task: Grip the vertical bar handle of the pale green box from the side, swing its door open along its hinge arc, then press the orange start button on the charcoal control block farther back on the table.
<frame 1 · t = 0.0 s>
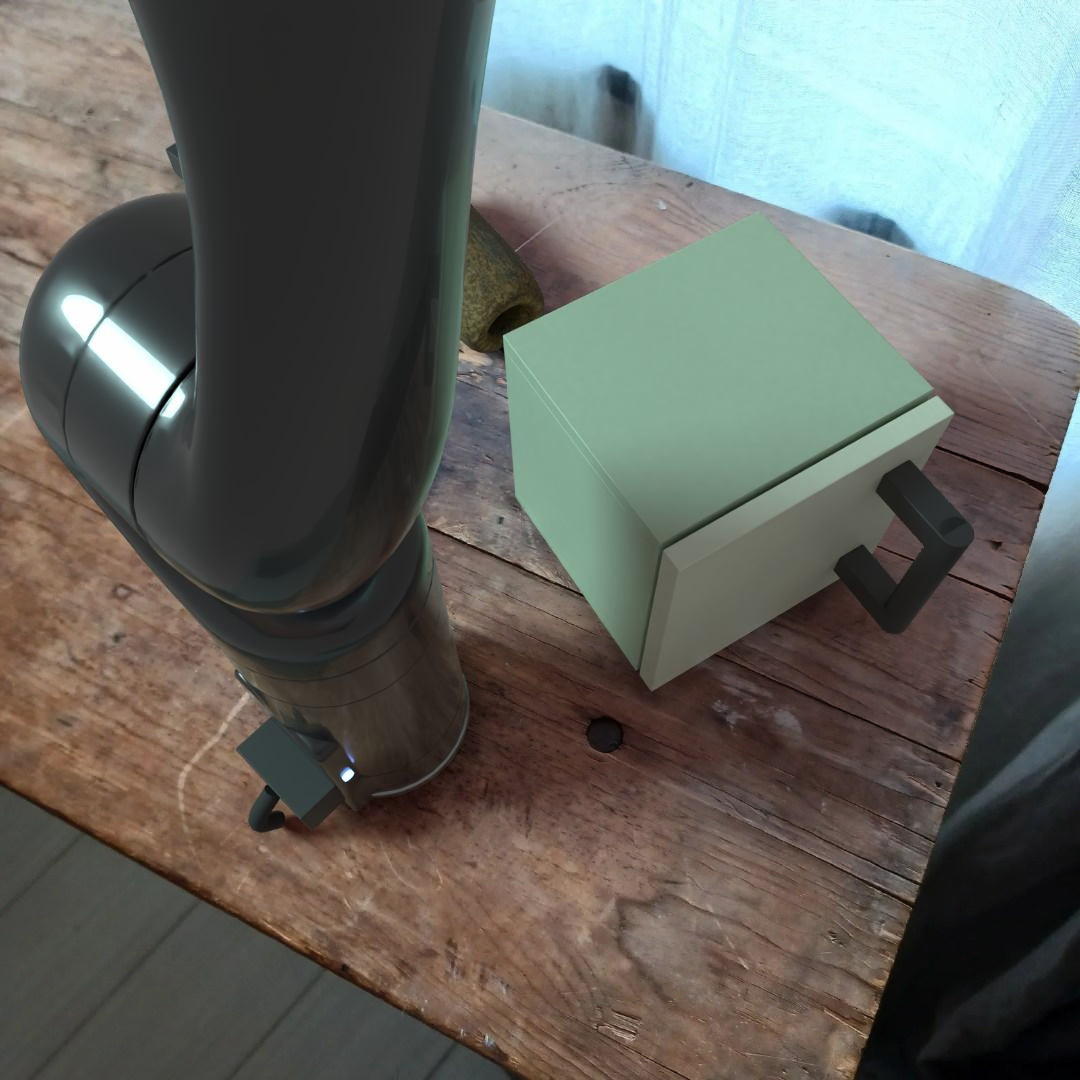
pale green box: (680, 520, 60), on the table
start button: (230, 116, 71), point 4 cm above the table, slide at 0.1 cm
tool: (231, 345, 67), on the table
machine door: (812, 594, 50), point 7 cm above the table, hinge at 0.0°
stone weight: (450, 288, 69), on the table
control block: (247, 167, 75), on the table
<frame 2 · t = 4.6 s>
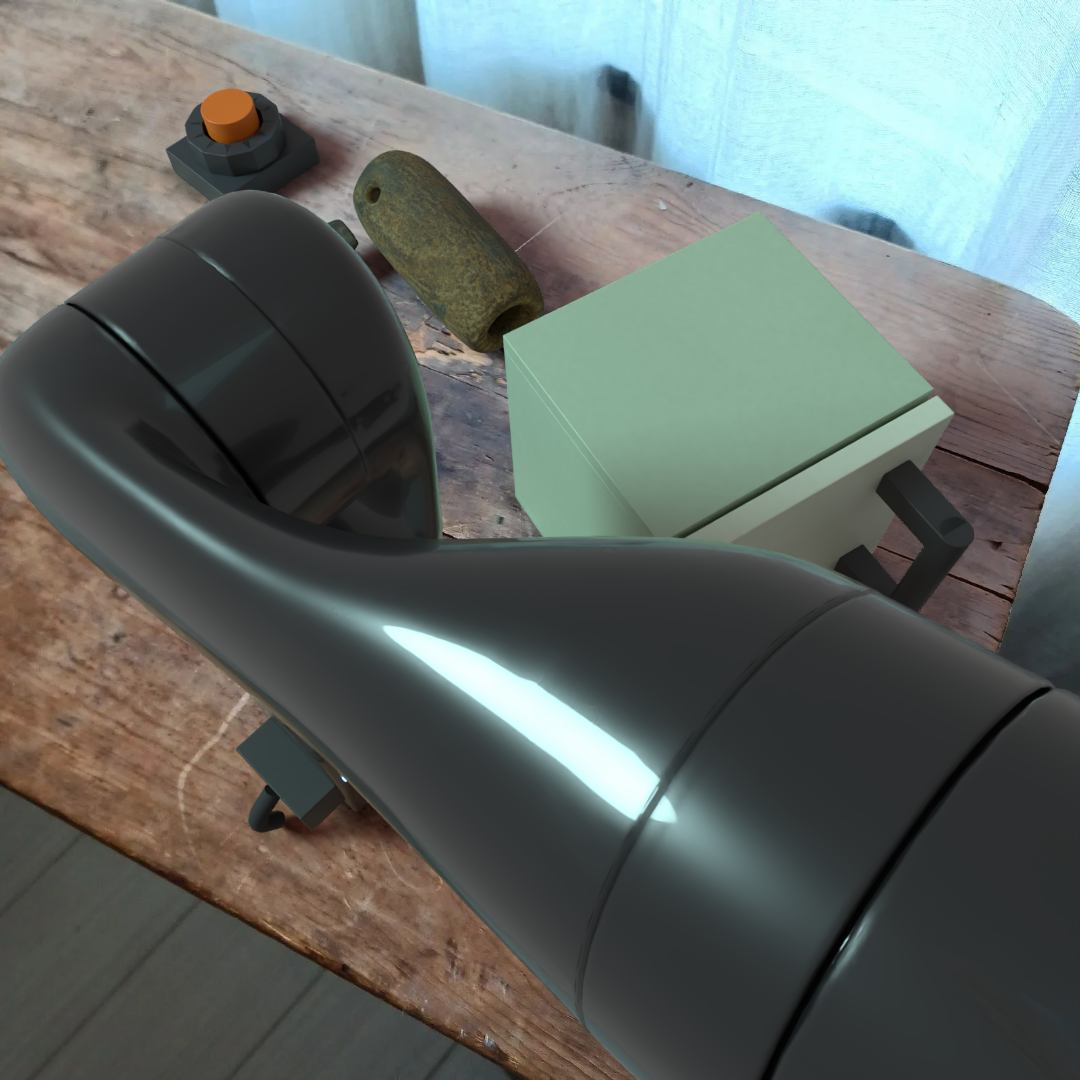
nothing on the table moved.
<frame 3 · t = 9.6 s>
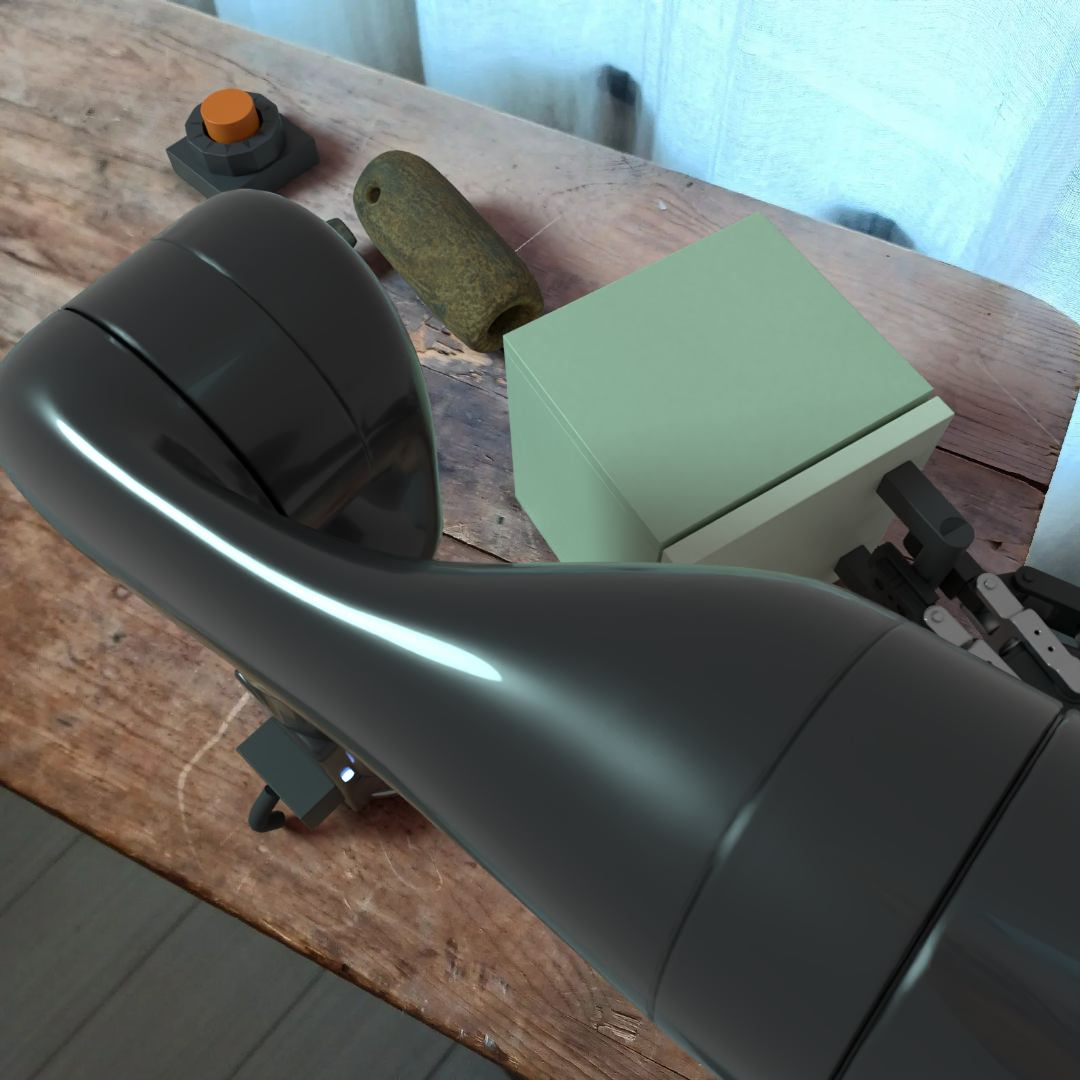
hand: (895, 542, 50), 8 cm above the table, tool horizontal, fingers closed on machine door
machine door: (812, 594, 50), point 7 cm above the table, hinge at 0.1°, touching gripper
everything else where it was.
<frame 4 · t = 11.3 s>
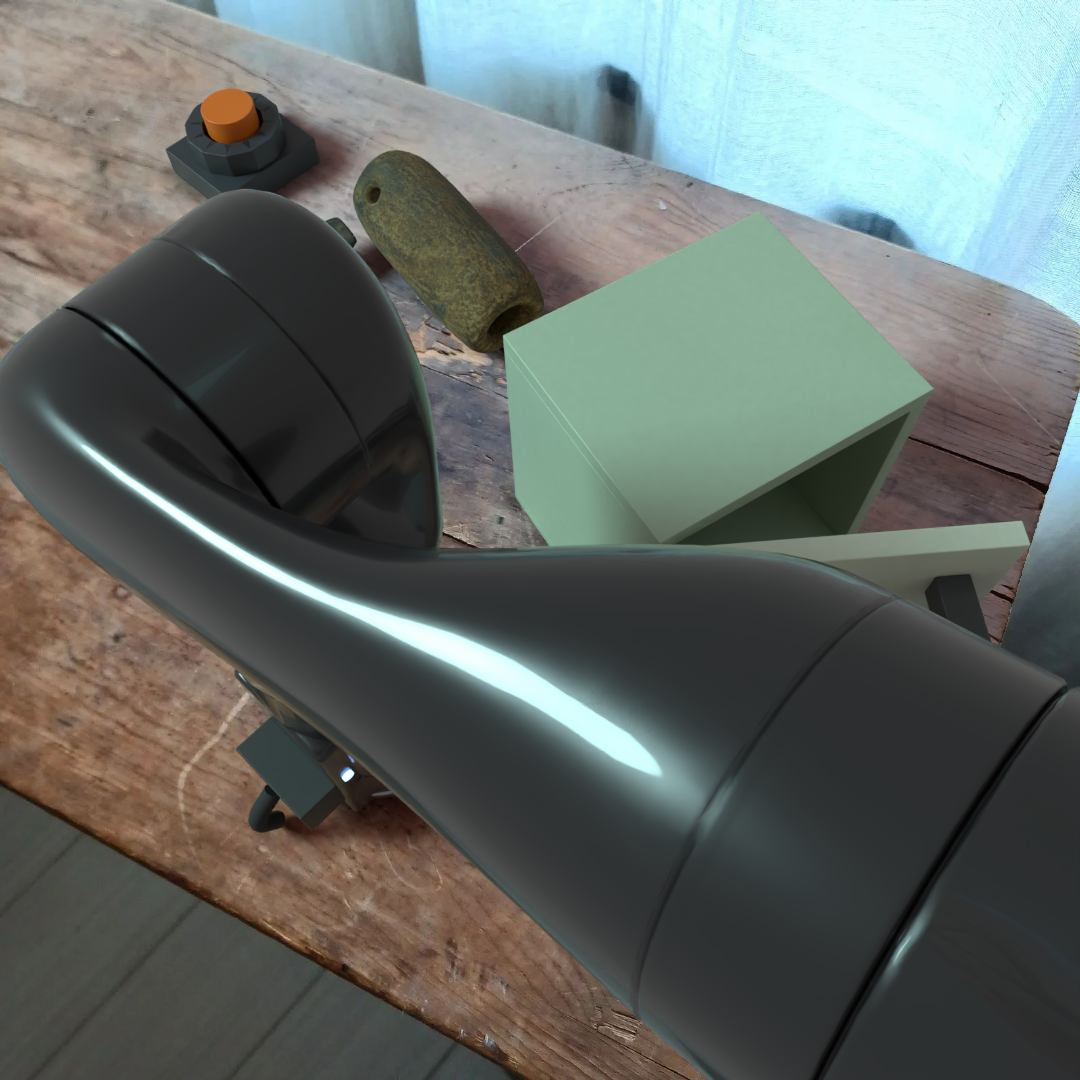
hand: (932, 655, 48), 8 cm above the table, tool horizontal, fingers closed on machine door
machine door: (821, 664, 48), point 7 cm above the table, hinge at 26.7°, touching gripper
everything else where it was.
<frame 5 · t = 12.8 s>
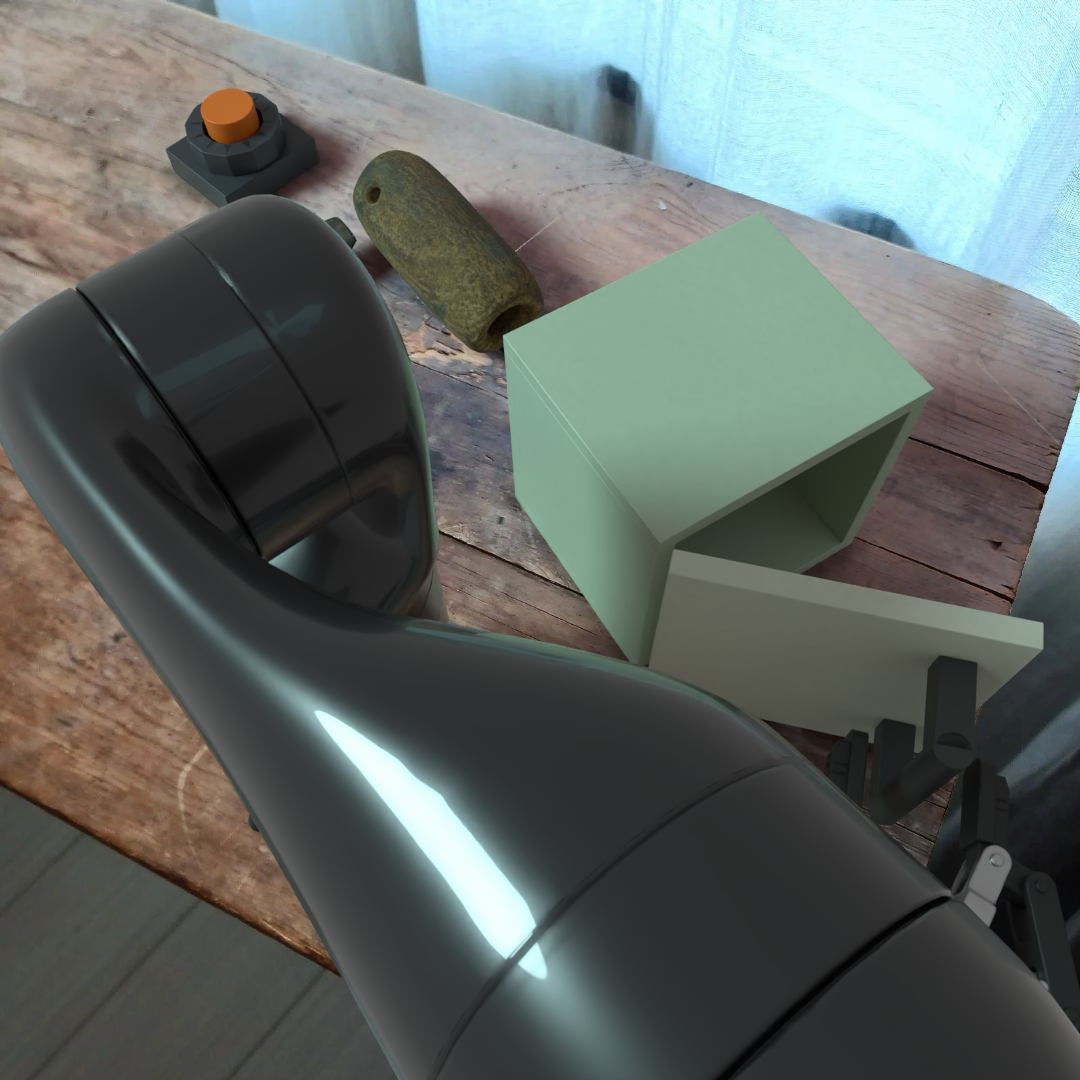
hand: (916, 751, 46), 8 cm above the table, tool horizontal, fingers open, 5 cm apart
machine door: (808, 711, 47), point 7 cm above the table, hinge at 44.6°
everything else where it was.
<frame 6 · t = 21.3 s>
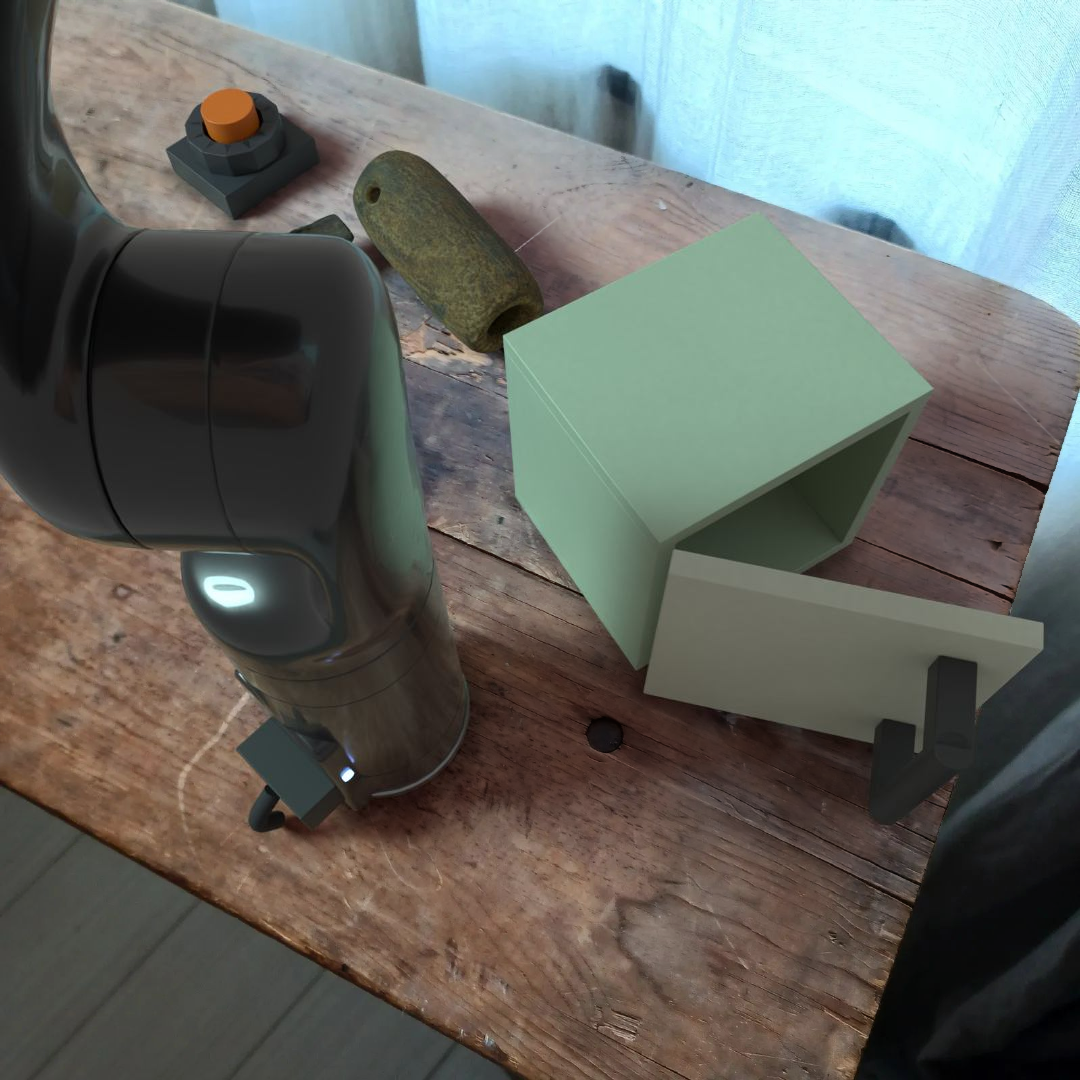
nothing on the table moved.
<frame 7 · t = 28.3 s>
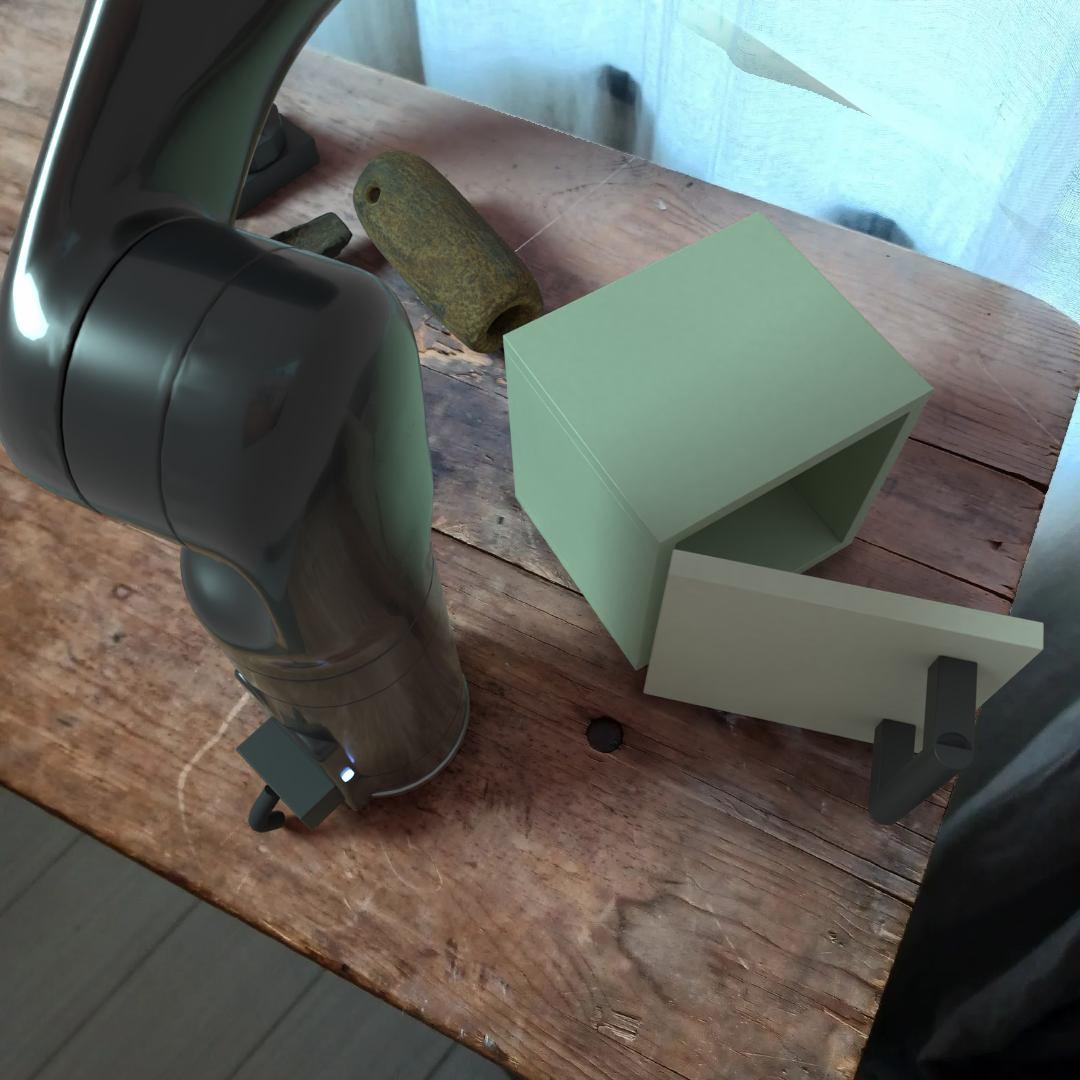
hand: (231, 111, 71), 5 cm above the table, tool pointing down, fingers closed
start button: (232, 123, 71), point 4 cm above the table, slide at -0.5 cm, touching gripper
everything else where it was.
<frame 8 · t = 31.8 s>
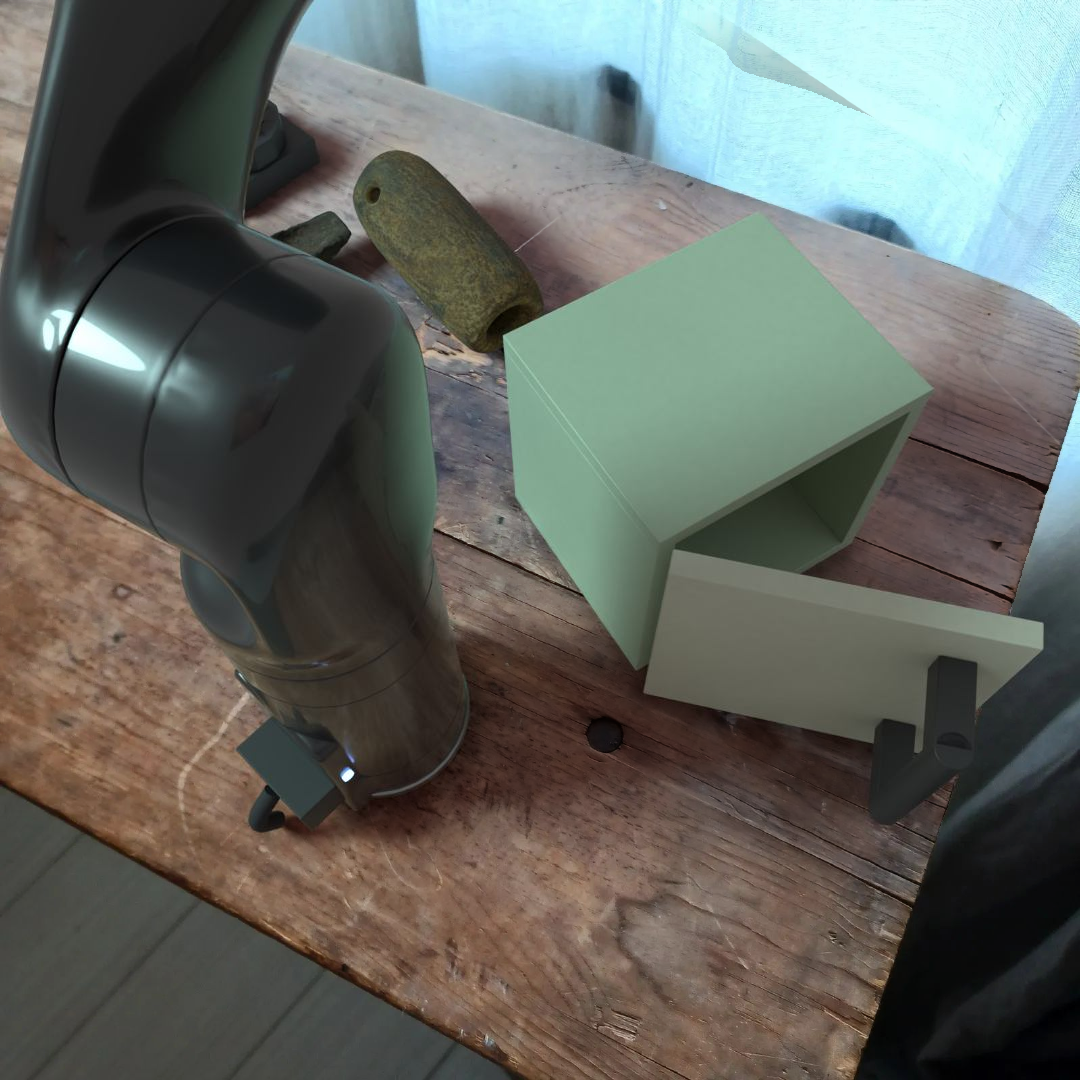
start button: (230, 116, 71), point 4 cm above the table, slide at 0.1 cm
everything else where it was.
at the end: machine door at +45° (first picture: +0°); start button pushed in 1.1 cm at the most during the clip, back to where it started at the end; start button slide at 0.1 cm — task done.
